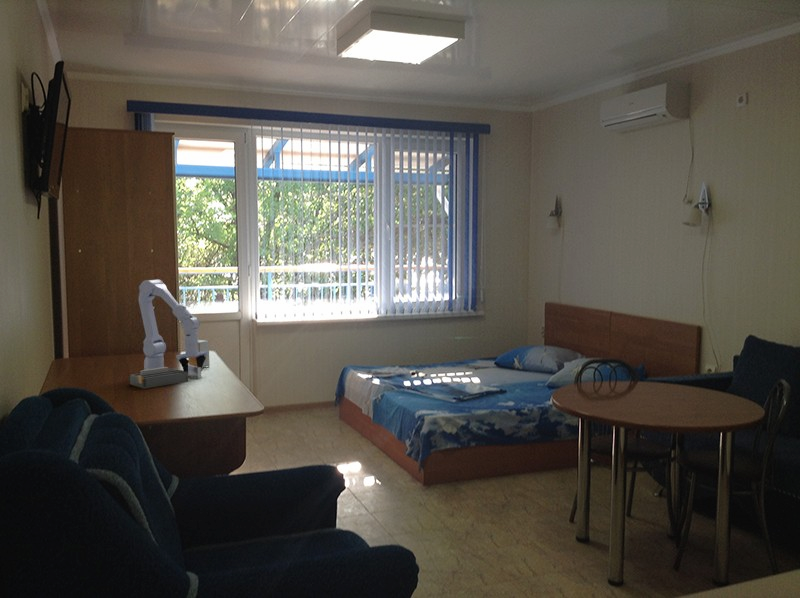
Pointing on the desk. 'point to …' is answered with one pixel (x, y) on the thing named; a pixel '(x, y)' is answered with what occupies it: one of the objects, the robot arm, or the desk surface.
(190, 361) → the small box
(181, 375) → the rack
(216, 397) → the desk surface
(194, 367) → the panel
